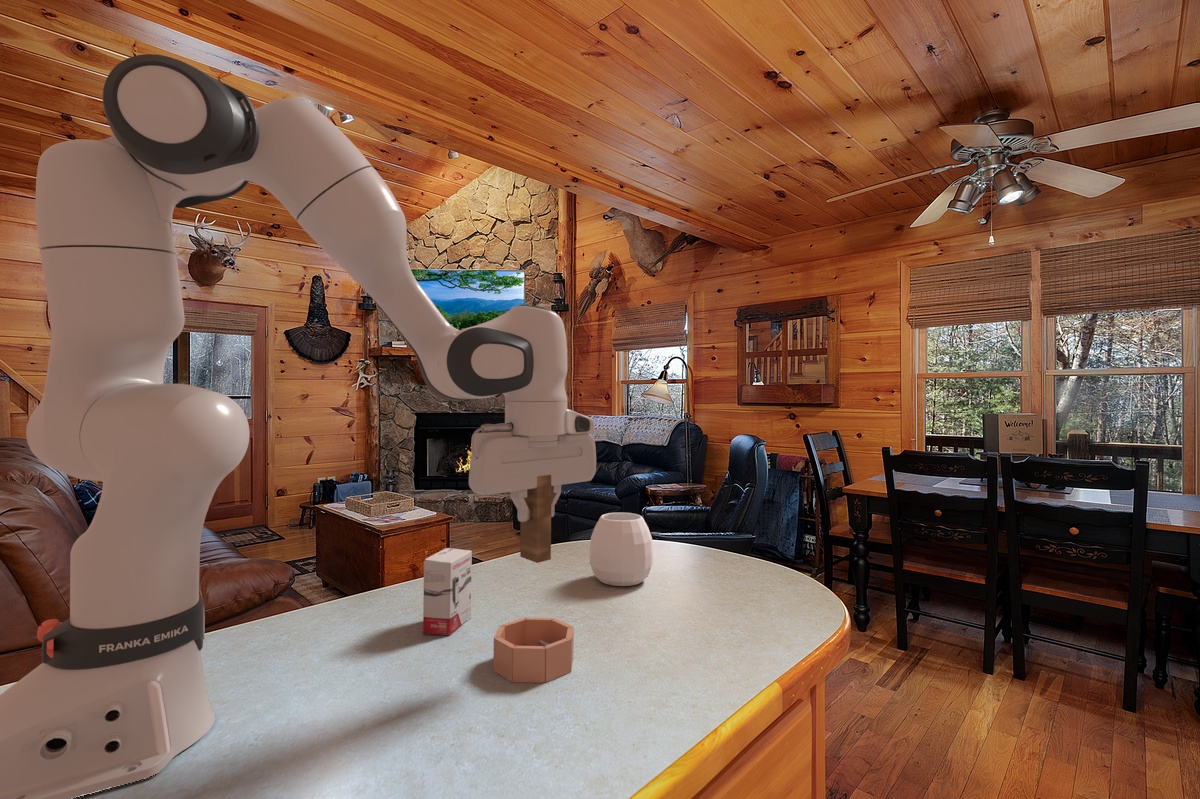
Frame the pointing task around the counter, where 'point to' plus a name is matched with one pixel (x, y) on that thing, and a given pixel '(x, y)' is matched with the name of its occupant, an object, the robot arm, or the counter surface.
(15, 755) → the robot arm
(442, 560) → the ink box
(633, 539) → the cup
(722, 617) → the counter surface
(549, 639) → the octagonal terracotta tray
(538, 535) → the tall wooden block
